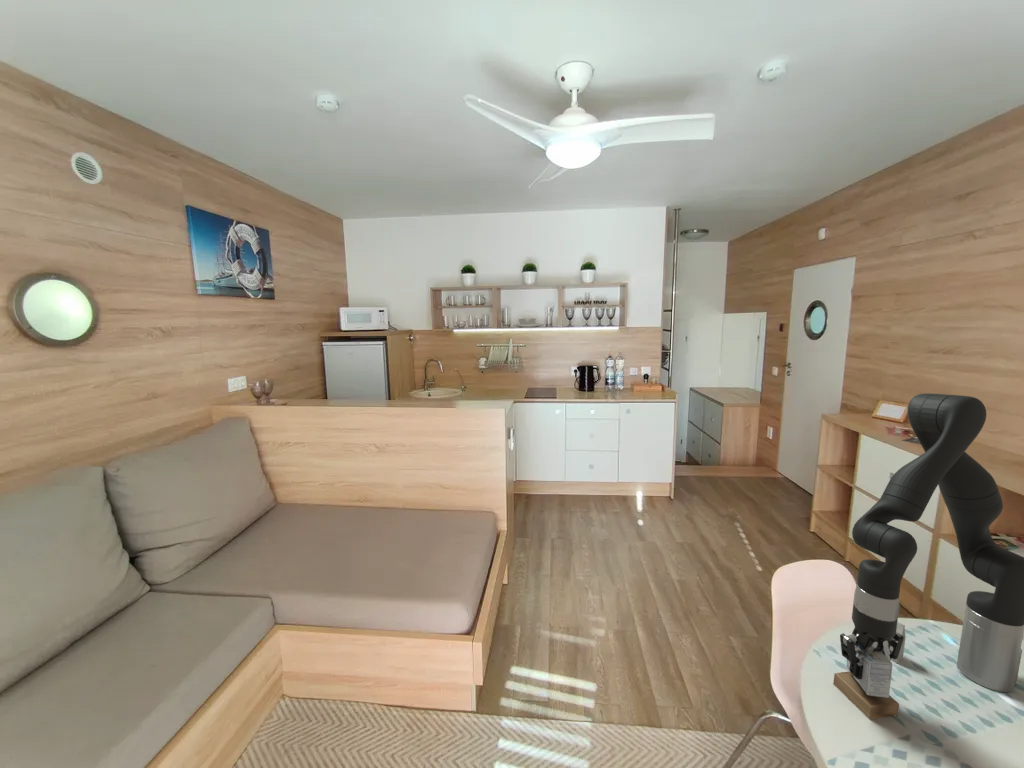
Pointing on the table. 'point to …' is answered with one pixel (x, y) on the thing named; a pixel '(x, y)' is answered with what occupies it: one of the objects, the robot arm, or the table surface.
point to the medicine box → (875, 674)
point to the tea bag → (901, 631)
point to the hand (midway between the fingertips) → (867, 674)
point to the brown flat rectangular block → (865, 697)
